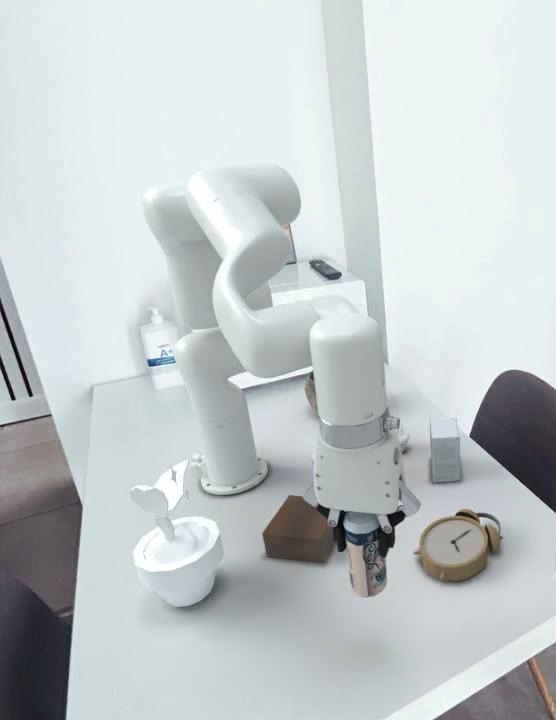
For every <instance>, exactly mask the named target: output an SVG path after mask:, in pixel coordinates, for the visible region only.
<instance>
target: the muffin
mask: <svg viewBox="0 0 556 720" xmlns="http://www.w3.org/2000/svg"><path fill="white" fill-rule="evenodd" d="M395 430H396V433H397V436H398V440H399V444H400V448H401V453H402V454H403V452H404V451H405V449H406V447H407V446H408V443H409V440H410V438H411V434H410V432H409V430H408V429H406V428H405V427H404V425H403V424H402V422H400V426H399V429H395Z"/></svg>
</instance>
